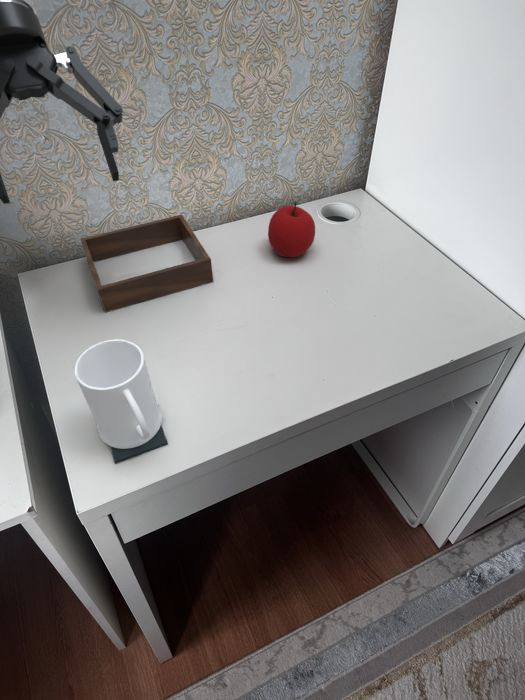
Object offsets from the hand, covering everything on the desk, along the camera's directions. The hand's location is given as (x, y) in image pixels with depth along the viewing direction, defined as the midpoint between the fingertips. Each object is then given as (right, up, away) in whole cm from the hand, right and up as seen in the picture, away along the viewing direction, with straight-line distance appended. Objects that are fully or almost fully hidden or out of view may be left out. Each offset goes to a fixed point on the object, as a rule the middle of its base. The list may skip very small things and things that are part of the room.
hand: (62, 188), depth 60 cm
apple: (+31, -1, +33) cm, 45 cm away
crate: (+4, -6, +29) cm, 30 cm away
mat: (+8, -32, +4) cm, 33 cm away
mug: (+8, -31, +4) cm, 33 cm away
